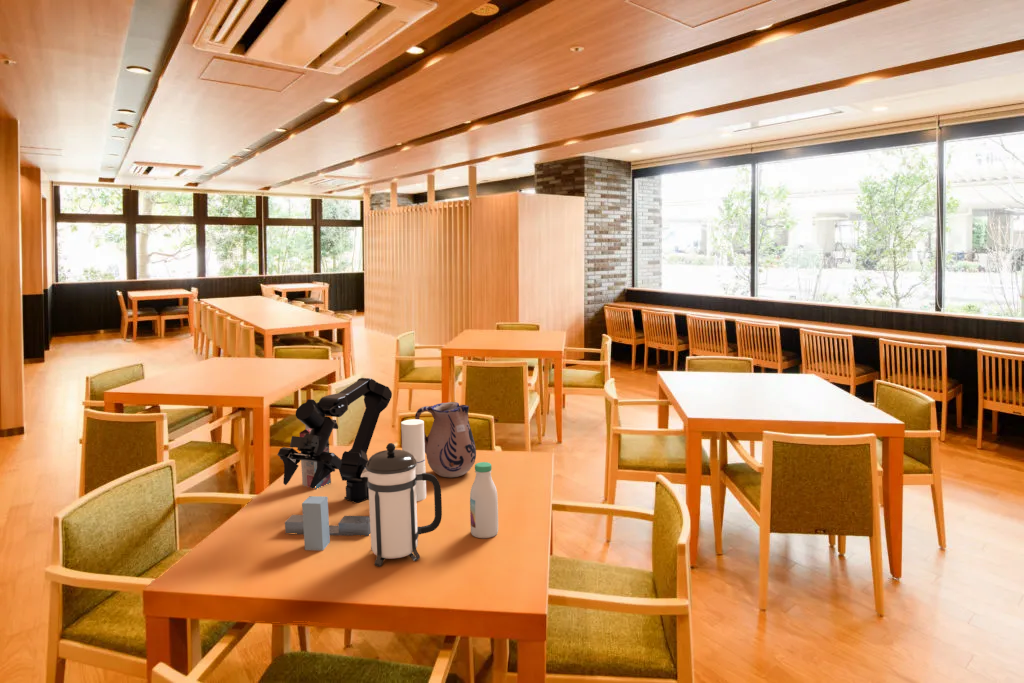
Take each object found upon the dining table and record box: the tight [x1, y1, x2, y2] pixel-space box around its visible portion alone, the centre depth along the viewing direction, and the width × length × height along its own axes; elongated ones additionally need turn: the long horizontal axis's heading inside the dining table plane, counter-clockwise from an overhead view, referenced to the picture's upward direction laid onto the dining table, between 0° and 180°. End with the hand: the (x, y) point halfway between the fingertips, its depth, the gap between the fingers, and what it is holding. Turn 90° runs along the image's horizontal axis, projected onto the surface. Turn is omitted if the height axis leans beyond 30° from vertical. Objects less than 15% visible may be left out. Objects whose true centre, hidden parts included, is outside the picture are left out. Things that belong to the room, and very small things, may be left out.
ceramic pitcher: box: [414, 401, 477, 479], centre depth 226 cm, size 18×21×25 cm
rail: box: [284, 514, 371, 537], centre depth 181 cm, size 5×24×4 cm, turn 85°
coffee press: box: [361, 442, 443, 568], centre depth 165 cm, size 17×16×30 cm
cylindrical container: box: [400, 418, 427, 502], centre depth 204 cm, size 7×7×25 cm
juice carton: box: [299, 424, 332, 490], centre depth 218 cm, size 7×7×22 cm
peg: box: [301, 495, 331, 551], centre depth 171 cm, size 5×5×13 cm
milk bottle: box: [469, 461, 499, 539], centre depth 177 cm, size 8×8×20 cm
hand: (297, 486), depth 178 cm, fingers open, 9 cm apart
